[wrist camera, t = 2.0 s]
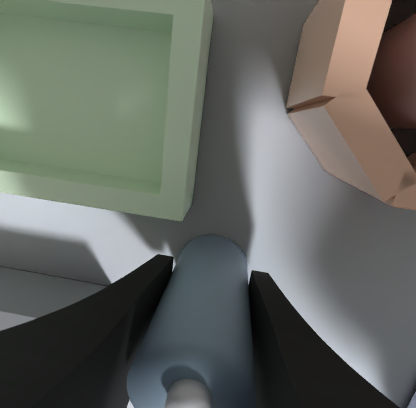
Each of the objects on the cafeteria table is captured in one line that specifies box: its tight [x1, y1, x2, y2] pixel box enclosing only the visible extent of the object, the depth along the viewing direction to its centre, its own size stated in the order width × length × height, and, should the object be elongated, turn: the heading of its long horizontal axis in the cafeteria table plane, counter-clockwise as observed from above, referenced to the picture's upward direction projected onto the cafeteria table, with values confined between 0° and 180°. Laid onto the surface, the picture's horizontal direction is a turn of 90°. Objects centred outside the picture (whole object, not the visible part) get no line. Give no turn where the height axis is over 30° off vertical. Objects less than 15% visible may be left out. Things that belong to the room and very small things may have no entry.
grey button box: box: [0, 267, 107, 331], centre depth 12 cm, size 7×6×3 cm
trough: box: [0, 0, 214, 222], centre depth 9 cm, size 10×7×2 cm
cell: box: [127, 235, 256, 408], centre depth 8 cm, size 3×3×6 cm
